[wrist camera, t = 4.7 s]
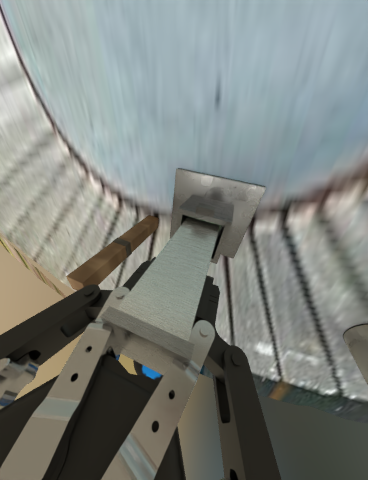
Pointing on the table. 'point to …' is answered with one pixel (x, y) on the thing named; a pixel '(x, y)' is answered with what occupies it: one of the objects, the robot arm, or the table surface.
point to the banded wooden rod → (112, 255)
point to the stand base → (216, 206)
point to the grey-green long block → (166, 299)
